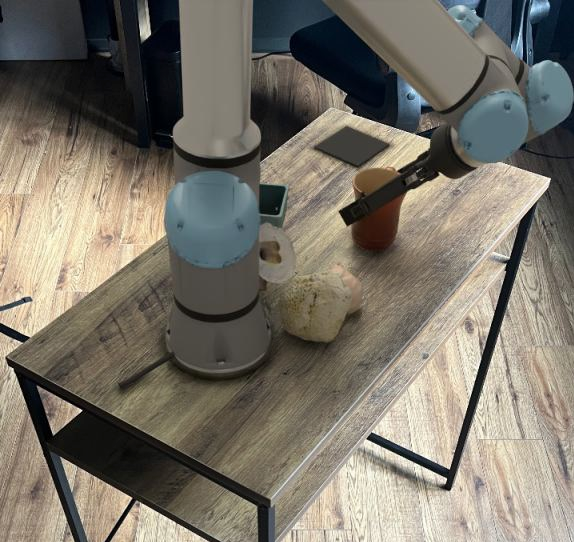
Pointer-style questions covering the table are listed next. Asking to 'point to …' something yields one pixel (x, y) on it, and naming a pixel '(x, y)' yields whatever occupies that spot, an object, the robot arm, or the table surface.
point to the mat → (351, 146)
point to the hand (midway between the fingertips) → (366, 201)
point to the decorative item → (315, 305)
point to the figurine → (274, 256)
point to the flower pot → (273, 203)
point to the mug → (382, 223)
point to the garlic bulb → (350, 286)
